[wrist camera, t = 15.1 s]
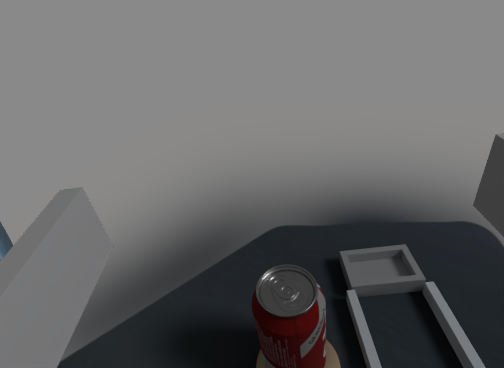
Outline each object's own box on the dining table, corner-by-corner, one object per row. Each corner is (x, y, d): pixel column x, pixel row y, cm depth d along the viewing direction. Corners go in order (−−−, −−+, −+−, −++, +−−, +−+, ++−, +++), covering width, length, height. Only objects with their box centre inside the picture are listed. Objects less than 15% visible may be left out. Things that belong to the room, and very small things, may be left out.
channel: (506, 424, 28) (513, 414, 27) (386, 432, 29) (389, 424, 28) (430, 292, 40) (433, 281, 39) (346, 300, 41) (346, 290, 39)
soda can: (289, 406, 31) (278, 339, 25) (252, 351, 36) (235, 283, 30) (339, 364, 34) (342, 293, 27) (298, 318, 39) (292, 248, 32)
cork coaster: (243, 395, 33) (242, 393, 33) (273, 320, 40) (273, 317, 39) (330, 434, 29) (330, 431, 29) (348, 344, 36) (348, 341, 36)
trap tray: (422, 290, 40) (425, 279, 39) (351, 298, 41) (351, 286, 40) (403, 255, 45) (405, 244, 44) (339, 262, 46) (339, 251, 45)
